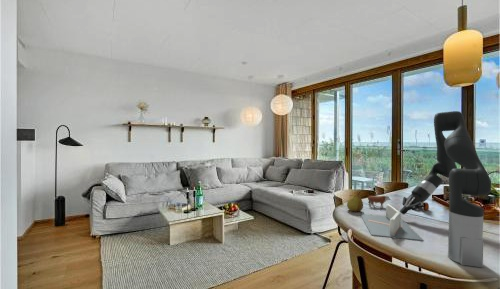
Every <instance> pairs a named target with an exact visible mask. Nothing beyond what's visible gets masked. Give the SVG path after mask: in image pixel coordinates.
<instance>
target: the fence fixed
mask: <svg viewBox="0 0 500 289" xmlns="http://www.w3.org/2000/svg"><path fill="white" fill-rule="evenodd" d="M401 219H402V213H401V212H400V211H399V212H396V214H395V215H394V216H393V217H392V218H391V219H390V235H391V236H395V232H396V231H397V230H398V228H399V227H401Z"/></svg>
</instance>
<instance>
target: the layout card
mask: <svg viewBox="0 0 500 289" xmlns="http://www.w3.org/2000/svg"><path fill="white" fill-rule="evenodd" d="M359 215H360V217H361V218H362V220H363V222H364V225H365V226H366V229H367V230H368V232H369V233H370V236H372V237H374V236H375V237H382V238H383V237H384V238H393V239H403V240H412V241H422V242H424V241H425V240H424V239H423V238H422V237H421V236H420V235H419V234H418V233H417V232H416V231H415V230H414V229H413V228H412V227H411V226H410V225H409V224H408V223H407V222H406V221H405V220H404V219H402V218H401V227H399V228H398V230H397V231H396V232H395V236H391V235H390V219H389V218H387V217H386V215H378V214H367V213H360V214H359Z"/></svg>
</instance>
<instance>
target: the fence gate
mask: <svg viewBox="0 0 500 289" xmlns="http://www.w3.org/2000/svg"><path fill="white" fill-rule="evenodd" d="M385 205H386V206H385V207H386V208H385V216H386V217H387V218H389V219H391V218H392V217H393V216H394V215H395V214H396V212H400V210H398V209H396V208H395V207H394V206H392V205H391V204H387V203H386V204H385Z"/></svg>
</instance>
